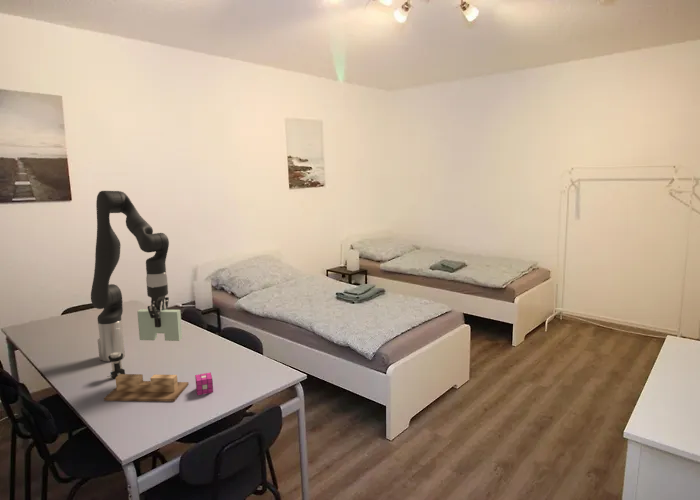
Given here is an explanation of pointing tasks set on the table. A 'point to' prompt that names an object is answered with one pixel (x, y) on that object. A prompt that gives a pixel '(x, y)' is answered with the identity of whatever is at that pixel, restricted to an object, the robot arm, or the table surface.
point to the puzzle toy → (204, 383)
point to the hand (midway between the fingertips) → (160, 325)
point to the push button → (116, 364)
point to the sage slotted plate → (168, 325)
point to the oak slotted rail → (146, 388)
